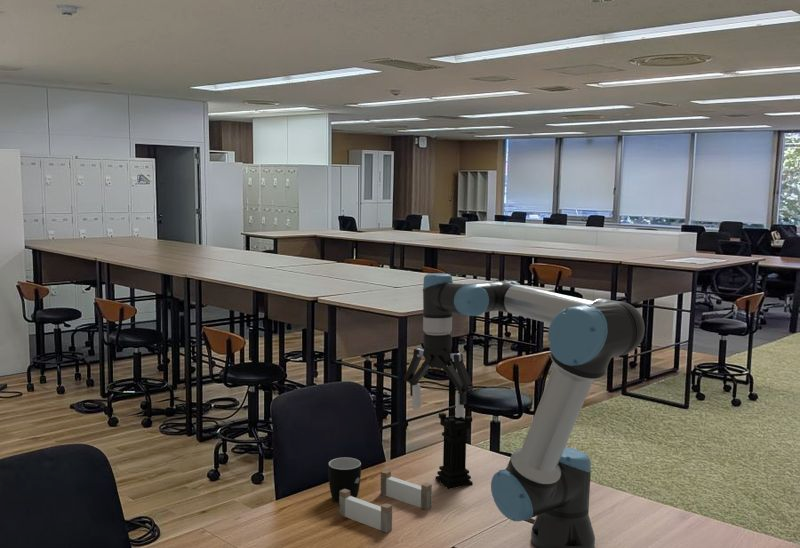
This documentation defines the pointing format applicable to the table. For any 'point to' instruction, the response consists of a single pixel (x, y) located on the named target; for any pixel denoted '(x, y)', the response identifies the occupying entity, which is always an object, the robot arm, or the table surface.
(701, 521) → the table surface
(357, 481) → the mug
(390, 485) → the chute
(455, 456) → the chess piece
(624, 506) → the table surface
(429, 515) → the table surface
